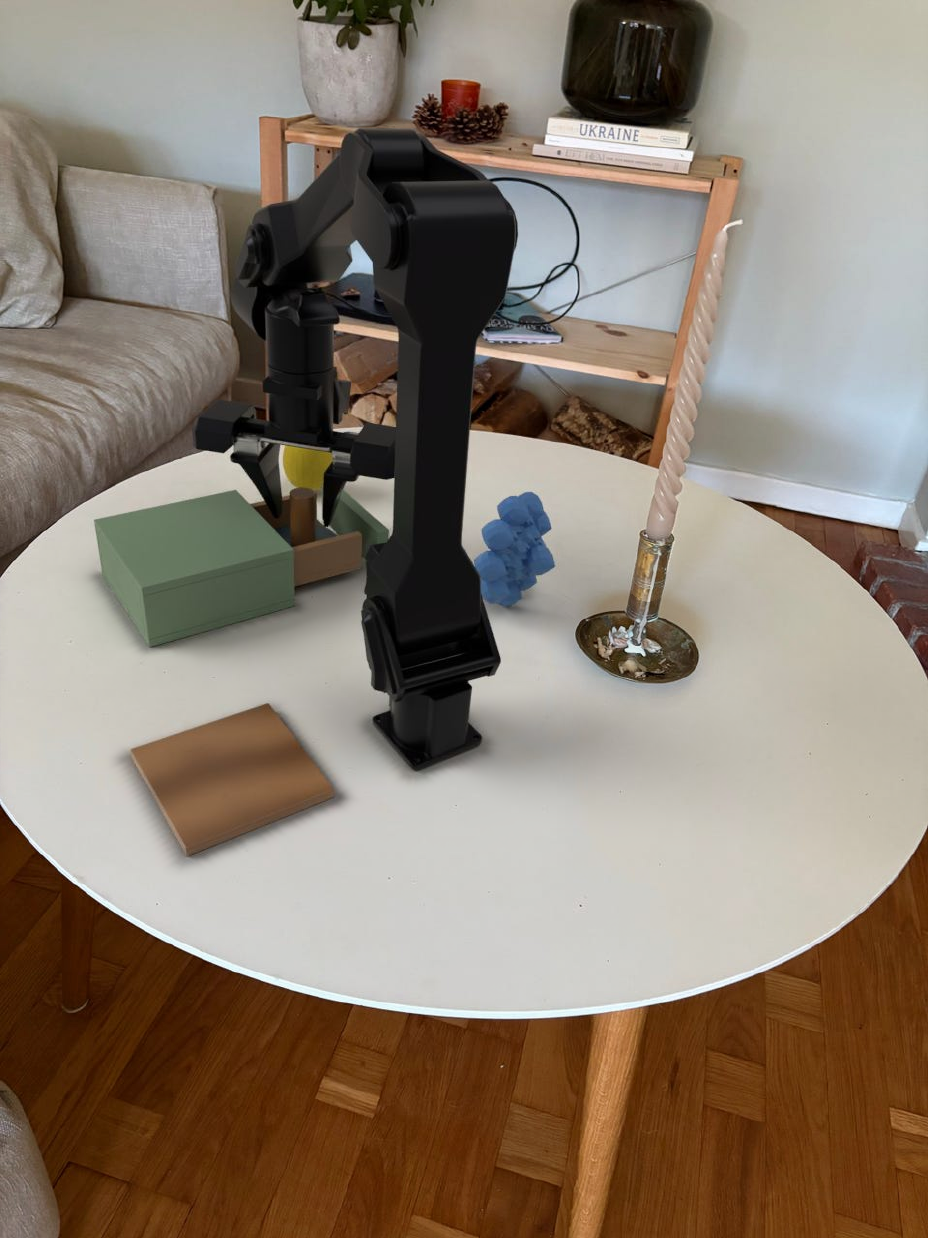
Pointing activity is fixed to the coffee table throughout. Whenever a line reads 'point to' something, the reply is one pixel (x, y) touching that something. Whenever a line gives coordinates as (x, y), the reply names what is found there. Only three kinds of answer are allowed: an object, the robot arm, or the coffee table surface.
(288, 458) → the lemon
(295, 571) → the drawer
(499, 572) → the grapes
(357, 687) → the coffee table surface
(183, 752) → the wooden peg base
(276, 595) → the cabinet
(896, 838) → the coffee table surface
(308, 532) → the pot lid
